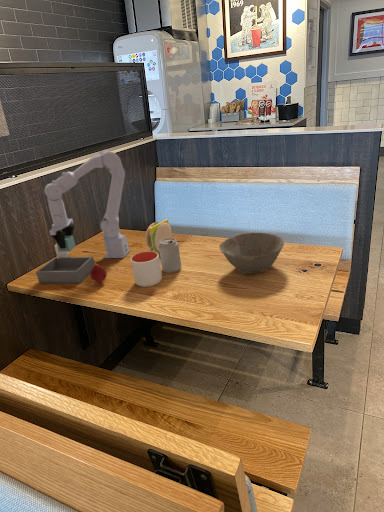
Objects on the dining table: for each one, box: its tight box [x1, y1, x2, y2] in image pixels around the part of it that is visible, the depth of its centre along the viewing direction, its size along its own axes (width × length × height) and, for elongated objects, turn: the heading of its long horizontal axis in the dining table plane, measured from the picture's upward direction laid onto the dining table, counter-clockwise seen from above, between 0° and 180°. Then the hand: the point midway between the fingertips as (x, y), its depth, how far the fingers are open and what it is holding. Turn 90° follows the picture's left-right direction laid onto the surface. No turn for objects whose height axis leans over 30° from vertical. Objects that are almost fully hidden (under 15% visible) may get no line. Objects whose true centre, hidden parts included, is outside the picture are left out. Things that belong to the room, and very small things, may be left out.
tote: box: [35, 256, 95, 285], centre depth 156 cm, size 18×14×5 cm
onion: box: [89, 262, 108, 284], centre depth 146 cm, size 6×6×8 cm
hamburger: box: [144, 218, 173, 254], centre depth 169 cm, size 12×8×12 cm
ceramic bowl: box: [218, 232, 285, 274], centre depth 141 cm, size 22×23×10 cm
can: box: [158, 237, 182, 274], centre depth 149 cm, size 8×8×12 cm
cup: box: [130, 250, 163, 288], centre depth 142 cm, size 10×10×10 cm
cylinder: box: [54, 243, 71, 257], centre depth 173 cm, size 5×5×7 cm
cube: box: [55, 234, 76, 252], centre depth 161 cm, size 5×5×5 cm
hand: (66, 245), depth 161 cm, fingers closed on cube, 5 cm apart
